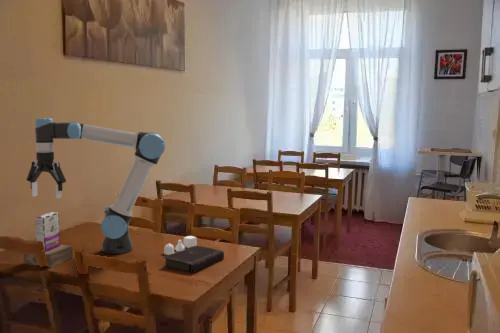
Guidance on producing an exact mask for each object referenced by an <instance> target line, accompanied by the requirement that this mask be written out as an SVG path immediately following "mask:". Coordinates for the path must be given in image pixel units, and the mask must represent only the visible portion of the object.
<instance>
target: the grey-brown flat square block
mask: <svg viewBox="0 0 500 333" xmlns="http://www.w3.org/2000/svg"><path fill="white" fill-rule="evenodd" d="M73 253H74V252H73V245H67V244H66V245H65V244H60V246H58V247H56V248H53V249H51V250H49V251H46V252H45V256H46V260H47V265H48V267H47V268H53V267H56V266H57V264H58V265H60V264H62V263H65V262H66V260H67V261H69V260H71V259H70V258H72V259H73V258H74V256H73V255H74V254H73ZM68 259H69V260H68ZM64 261H65V262H64ZM23 262H24V263H23V264H24V265H29V266H36V267H37V261H36V256H35V255H31V254H24V253H23Z"/></svg>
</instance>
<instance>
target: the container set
mask: <svg viewBox="0 0 500 333" xmlns="http://www.w3.org/2000/svg"><path fill="white" fill-rule="evenodd" d="M197 240H198V238H197V237H196V236H193V235H187V236H184V237H183V240H182V239H178V241H177V244H176V245H175V247H174V245H173V244H172V243H169V242H168V243H167V244H165V246H164V248H163V249H164V250H163V254H164V255H165V256H168V255H170V254H173V253H175V252H180V251H183V250H185V249H188V248H190V247H193V246H198V241H197ZM175 250H176V251H175Z"/></svg>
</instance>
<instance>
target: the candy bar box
mask: <svg viewBox="0 0 500 333" xmlns="http://www.w3.org/2000/svg"><path fill="white" fill-rule="evenodd" d="M59 213H60V212H55V211H49V212H47V213H44V214H41V215H37V216H34V219H35V220H34V222H35V237H36V239H35V241H36V242H37V241H41V242H43V246H44V251H45V252H46V251H49V250H51V249H53V248H56V247H58V246H60V245H61V235H60V234H61V233H60V217H59V216H60V214H59Z"/></svg>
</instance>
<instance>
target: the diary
mask: <svg viewBox="0 0 500 333" xmlns="http://www.w3.org/2000/svg"><path fill="white" fill-rule="evenodd" d="M162 259H165V265H162V268H166V269H171V270H175V271H183V272H188V273H192V274H195V273H198V272H199V271H201V270H203V269H205V268H207V267H210V266H211V265H213V264H216V263H218V262H220V261H222V260H224V259H225V252H224V250H220V249H216V248H211V247H207V246H202V245H197V246H193V247H190V248H185V250H183V251H176V252H174V253H173V254H170V255H165V256H163V257H162ZM217 261H218V262H217ZM215 262H216V263H215Z"/></svg>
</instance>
